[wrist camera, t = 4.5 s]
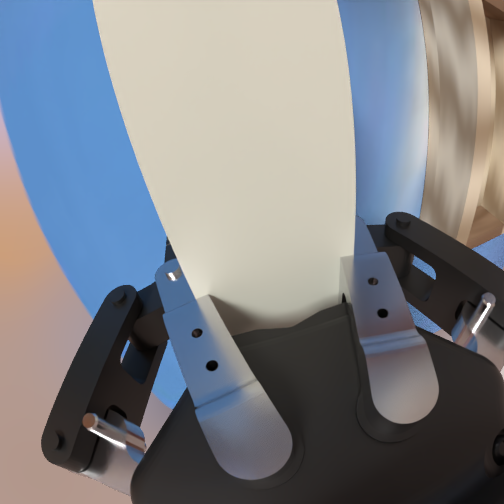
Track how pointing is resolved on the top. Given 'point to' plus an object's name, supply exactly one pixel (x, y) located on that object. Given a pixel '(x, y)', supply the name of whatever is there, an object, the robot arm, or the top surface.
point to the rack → (465, 118)
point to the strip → (242, 145)
